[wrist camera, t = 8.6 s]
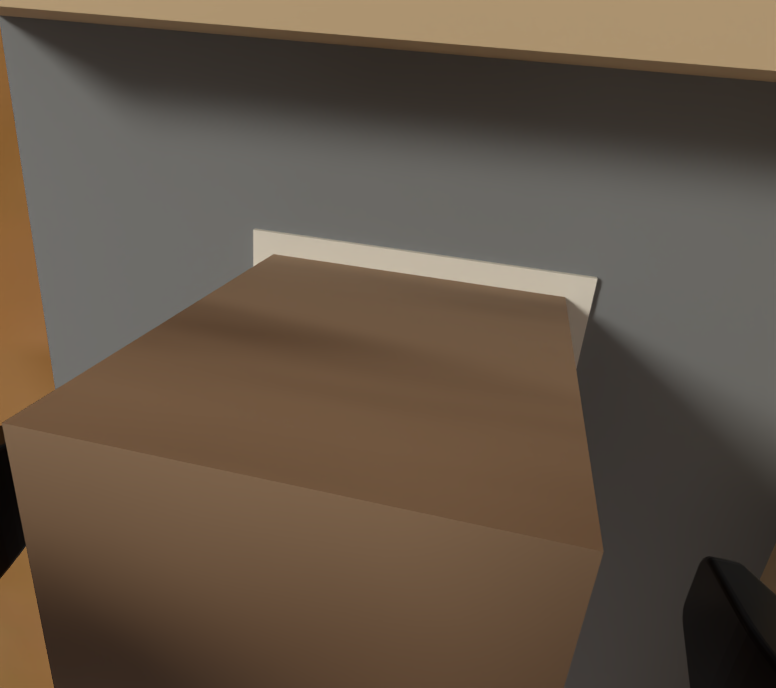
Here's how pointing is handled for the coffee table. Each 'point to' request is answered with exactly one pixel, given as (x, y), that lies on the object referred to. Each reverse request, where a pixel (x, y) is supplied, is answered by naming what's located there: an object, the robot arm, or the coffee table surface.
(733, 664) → the robot arm
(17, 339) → the coffee table surface
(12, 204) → the coffee table surface
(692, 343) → the building mat
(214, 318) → the walnut block
